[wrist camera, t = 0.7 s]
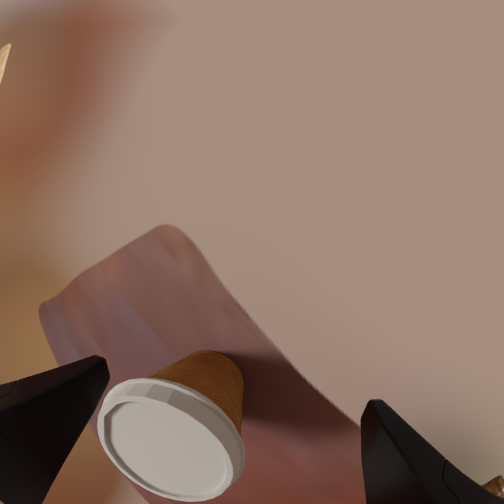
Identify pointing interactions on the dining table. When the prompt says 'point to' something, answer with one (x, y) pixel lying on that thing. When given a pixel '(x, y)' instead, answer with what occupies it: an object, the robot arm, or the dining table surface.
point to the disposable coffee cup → (178, 428)
